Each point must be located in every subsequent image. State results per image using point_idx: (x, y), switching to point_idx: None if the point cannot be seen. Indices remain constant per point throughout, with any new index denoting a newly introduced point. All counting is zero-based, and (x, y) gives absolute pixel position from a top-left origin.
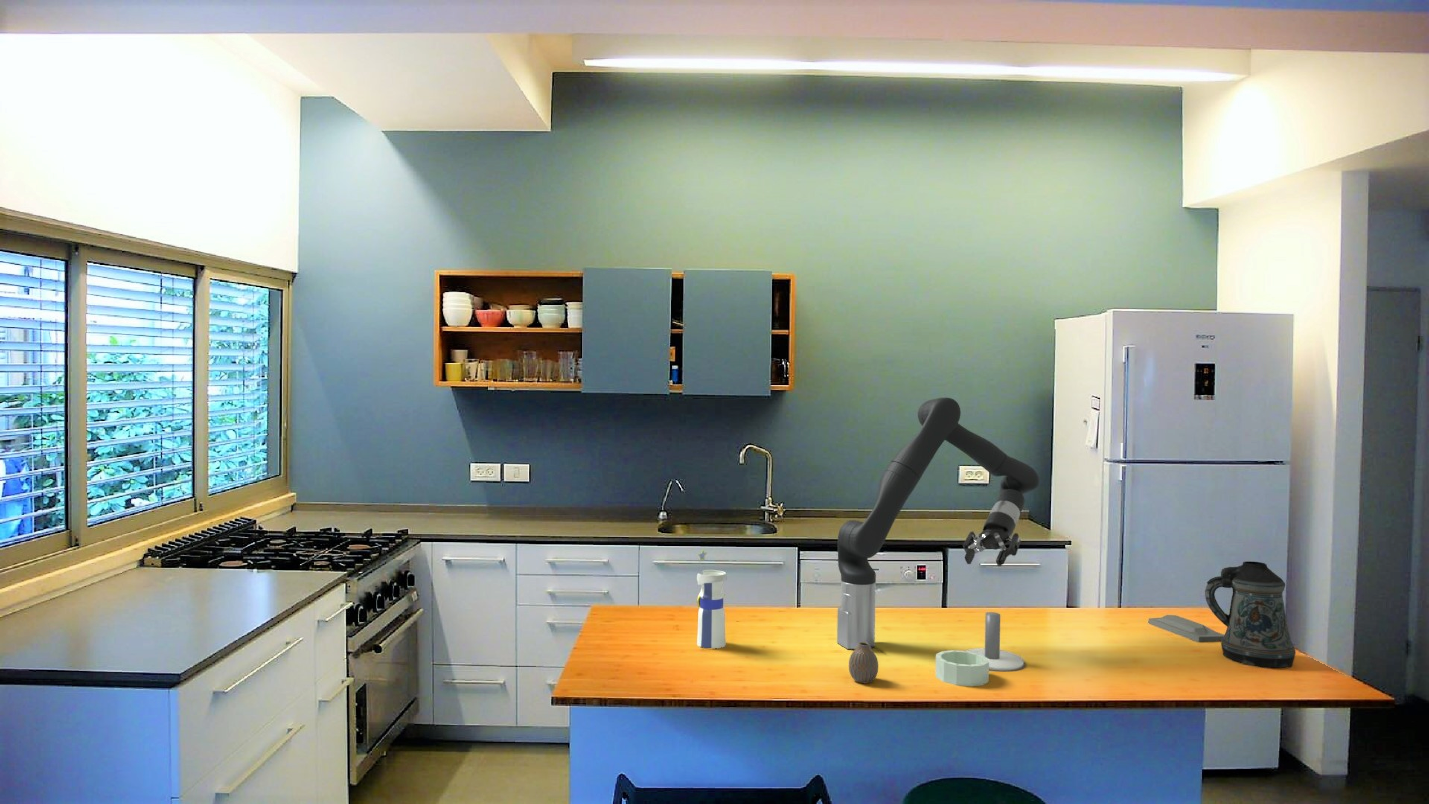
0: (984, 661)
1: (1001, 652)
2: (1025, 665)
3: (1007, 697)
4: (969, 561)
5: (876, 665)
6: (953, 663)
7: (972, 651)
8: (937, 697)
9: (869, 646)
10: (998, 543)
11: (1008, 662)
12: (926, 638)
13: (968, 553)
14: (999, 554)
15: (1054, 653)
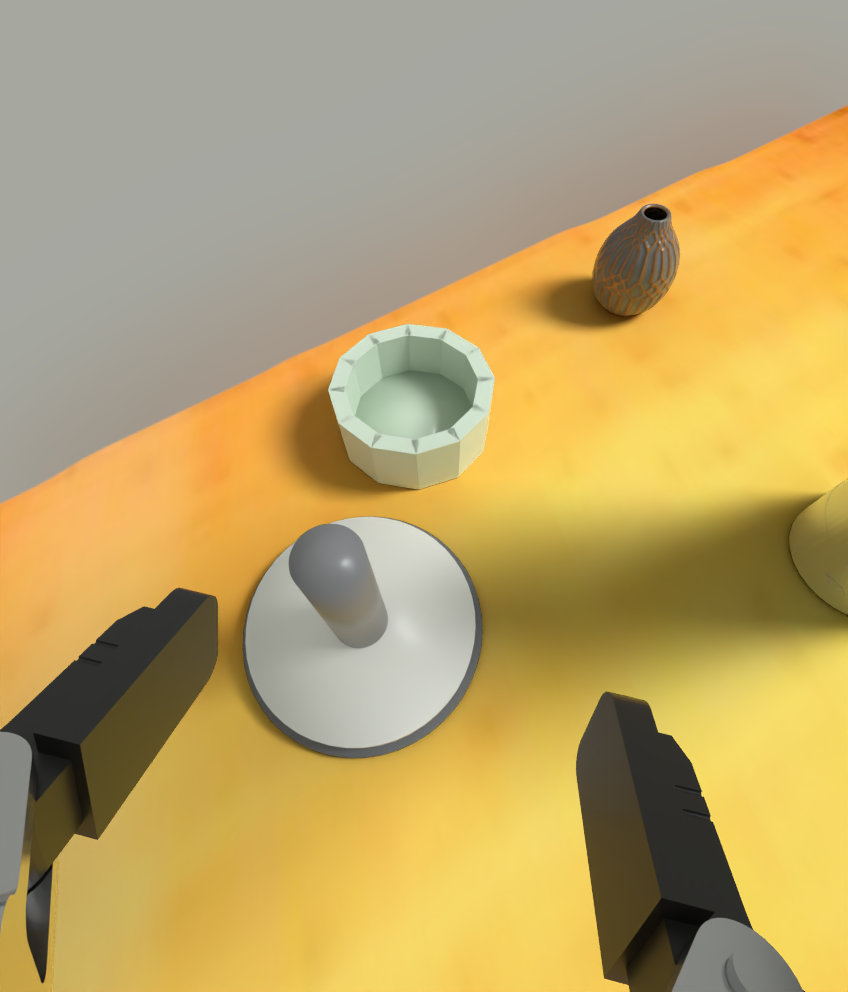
0: (341, 388)
1: (336, 710)
2: (243, 642)
3: (281, 364)
4: (591, 741)
5: (597, 258)
6: (420, 332)
7: (444, 653)
8: (430, 294)
9: (637, 219)
10: (1, 912)
11: (296, 589)
12: None
13: (660, 783)
14: (126, 664)
15: (114, 955)
